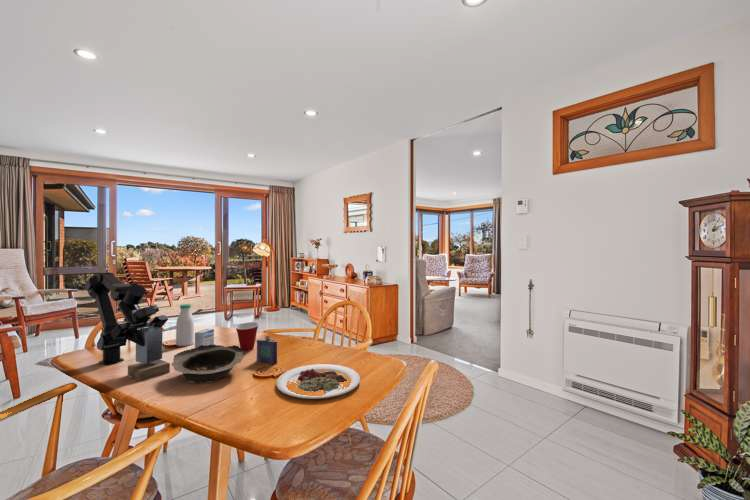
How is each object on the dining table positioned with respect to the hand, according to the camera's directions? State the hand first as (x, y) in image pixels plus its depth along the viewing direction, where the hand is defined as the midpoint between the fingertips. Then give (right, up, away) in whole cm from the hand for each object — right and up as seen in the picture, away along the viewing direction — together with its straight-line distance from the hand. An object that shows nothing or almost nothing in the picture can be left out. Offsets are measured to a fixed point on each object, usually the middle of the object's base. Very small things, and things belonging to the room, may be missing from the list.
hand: (151, 343), depth 124 cm
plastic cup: (+24, -12, +32) cm, 42 cm away
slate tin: (-1, -7, +1) cm, 7 cm away
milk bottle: (-10, -12, +38) cm, 41 cm away
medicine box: (+3, -12, +32) cm, 35 cm away
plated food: (+65, -14, -5) cm, 67 cm away
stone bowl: (+22, -13, 0) cm, 26 cm away
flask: (+39, -13, +15) cm, 44 cm away
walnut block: (-1, -12, 0) cm, 12 cm away
